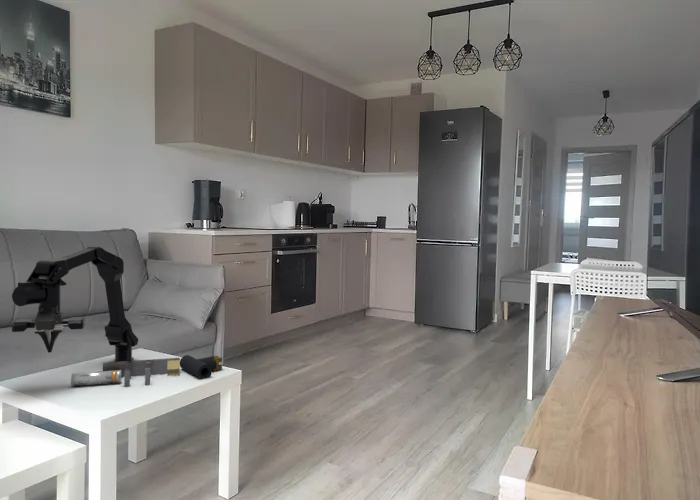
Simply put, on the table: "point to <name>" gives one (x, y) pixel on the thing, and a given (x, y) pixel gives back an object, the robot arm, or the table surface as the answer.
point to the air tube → (96, 378)
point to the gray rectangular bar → (138, 366)
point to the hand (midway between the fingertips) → (49, 352)
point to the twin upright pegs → (128, 374)
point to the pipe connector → (201, 365)
